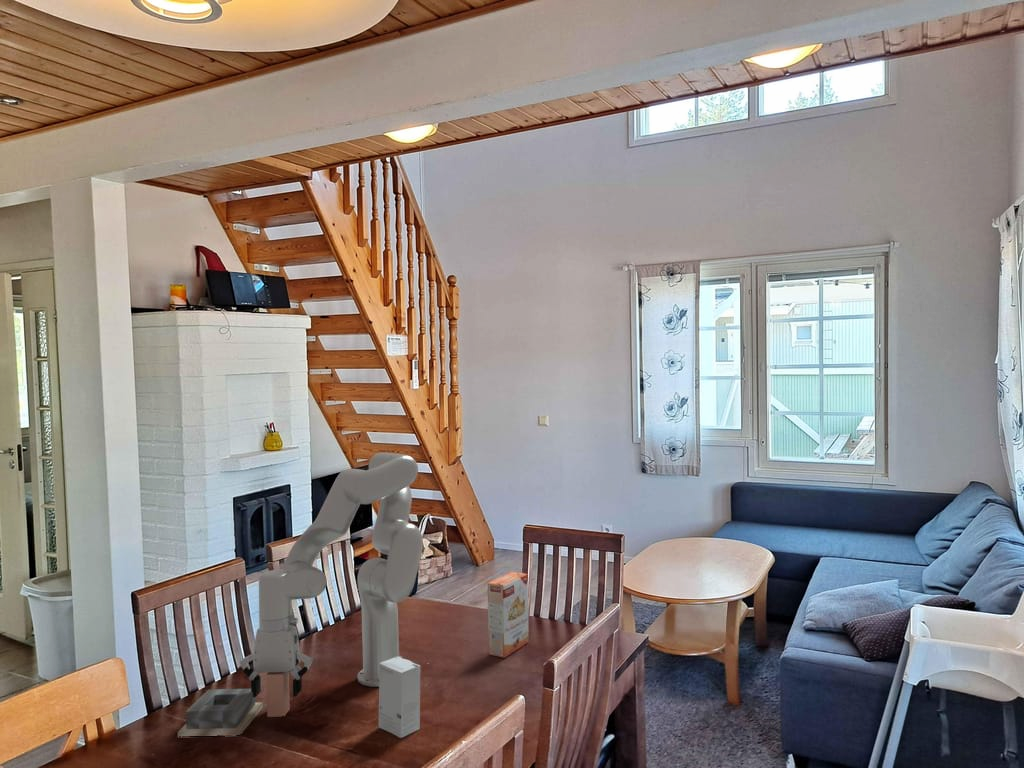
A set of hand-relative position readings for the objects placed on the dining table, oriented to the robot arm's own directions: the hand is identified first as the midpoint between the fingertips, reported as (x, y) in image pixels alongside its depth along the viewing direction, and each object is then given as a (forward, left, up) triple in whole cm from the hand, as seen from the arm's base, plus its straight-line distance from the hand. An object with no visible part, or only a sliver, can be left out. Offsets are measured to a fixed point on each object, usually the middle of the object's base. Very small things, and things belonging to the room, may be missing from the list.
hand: (276, 694), depth 166 cm
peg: (0, 0, -5) cm, 5 cm away
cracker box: (-55, -37, -5) cm, 67 cm away
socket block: (+12, +4, -5) cm, 13 cm away
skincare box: (-31, +9, -5) cm, 33 cm away
